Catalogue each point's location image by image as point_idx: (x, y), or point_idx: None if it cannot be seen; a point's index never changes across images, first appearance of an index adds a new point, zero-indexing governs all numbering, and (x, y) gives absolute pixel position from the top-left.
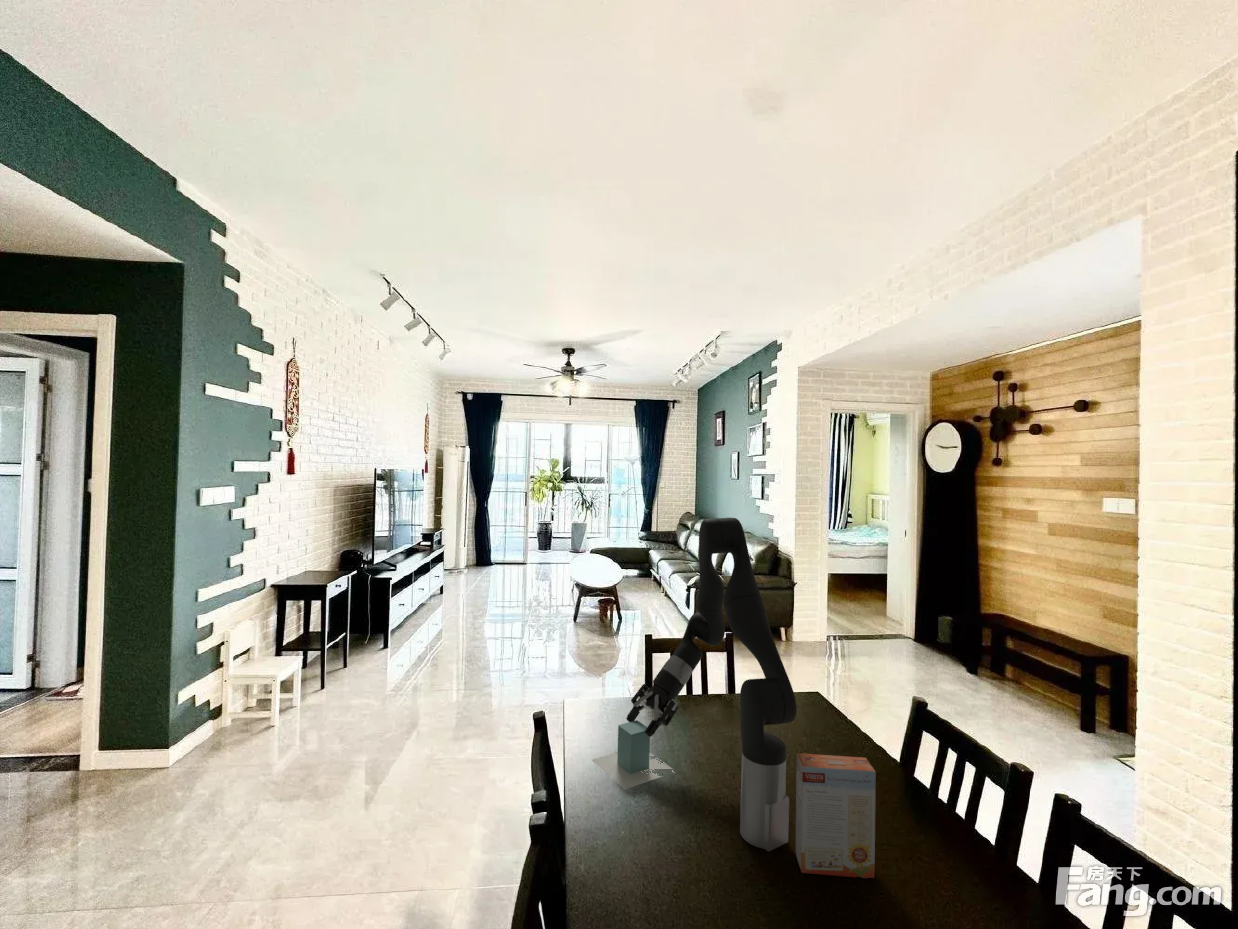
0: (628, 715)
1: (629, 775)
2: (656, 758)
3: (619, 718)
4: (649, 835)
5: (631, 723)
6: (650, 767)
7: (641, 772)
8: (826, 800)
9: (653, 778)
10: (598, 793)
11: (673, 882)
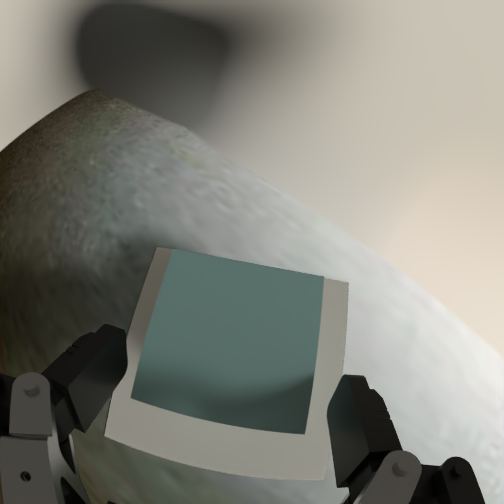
0: (366, 389)
1: None
2: (208, 463)
3: None
4: (51, 187)
5: (290, 366)
6: None
7: None
8: None
9: (128, 352)
10: (201, 195)
11: (14, 161)
